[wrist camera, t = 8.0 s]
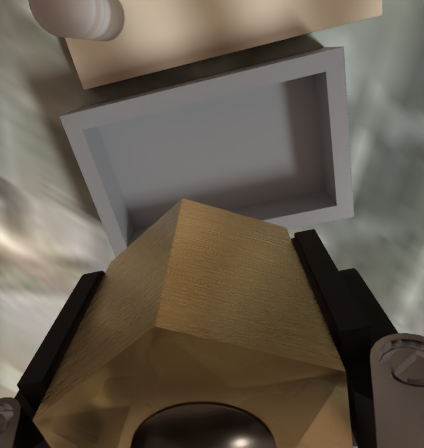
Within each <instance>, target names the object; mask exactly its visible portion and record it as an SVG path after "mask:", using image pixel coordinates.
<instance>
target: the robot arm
mask: <svg viewBox="0 0 424 448" xmlns="http://www.w3.org/2000/svg"><path fill="white" fill-rule="evenodd" d="M294 236H295V238H292V239H291V241H292V243H293V246H294V248H295V250H296V253H297V255H298V258H299V260H300V263H301V265H302V267H303V270H304V272H305V275H306V277H307V279H308V282H309V284H310V287H311V289H312V291H313V294H314V296H315V299H316V301H317V303H318V306H319V308H320V311H321V313H322V315H323V318H324V320H325V323H326V325H327V327H328V330H329V332H330V335H331V337H332V339H333V342H334V344H335V347H336V349H337V351H338V354H339V356H340V359H341V361H342V363H343V366H344V368H345V371H346V378H347V389H348V400H349V411H350V422H351V434H352V445H353V447H354V446H358V448H424V337H423V336H420V335H415V334H408V333H398V332H397V330H396V329H395V327H394V326H393V324H392V323H391V321H390V320H389V318H388V317H387V315H386V314H385V312H384V311H383V309H382V308H381V306H380V305H379V303H378V302H377V300H376V299H375V297H374V295H373V294H372V292H371V291H370V289H369V288H368V286H367V285H366V283H365V282H364V280H363V279H362V277H361V276H360V274H359V273H358V271H357V270H356V269H354V268H352V269H347V270H341V271H338V269H337V268H336V266H335V264H334V262H333V261H332V259H331V257H330V255H329V254H328V252H327V250H326V248H325V247H324V245H323V243H322V241H321V240H320V238H319V236H318V234H317V233H316V231H315V230H314V229H312V230H307V231H302V232H297V233H295V234H294ZM104 275H105V273H104V272H103V271H98V272H93V273H88V274H84V275H82V277H81V278H80V280H79V282H78V283H77V285H76V287H75V288H74V290H73V292H72V293H71V295H70V297H69V298H68V300H67V302H66V303H65V305H64V307H63V308H62V310H61V312H60V313H59V315H58V317H57V319H56V320H55V322H54V324H53V325H52V327H51V329H50V330H49V332H48V334H47V335H46V337H45V339H44V340H43V342H42V344H41V345H40V347H39V349H38V351H37V352H36V354H35V356H34V357H33V359H32V361H31V362H30V364H29V366H28V367H27V369H26V371H25V372H24V374H23V376H22V377H21V379H20V381H19V382H18V384H17V386H18V388H19V391H18V393H17V395H16V396H15V398H12V397H4V398H0V448H51V447H50V446H49V444H48V443H47V441H46V440H45V438H44V437H43V435H42V434H41V432H40V431H39V429H38V428H37V426H36V425H35V423H34V422H33V418H34V416H35V414H36V412H37V410H38V408H39V406H40V404H41V402H42V400H43V398H44V396H45V394H46V392H47V390H48V388H49V386H50V384H51V382H52V380H53V378H54V376H55V374H56V372H57V370H58V368H59V366H60V364H61V362H62V360H63V358H64V355H65V353H66V351H67V349H68V347H69V345H70V343H71V341H72V339H73V337H74V335H75V333H76V331H77V329H78V327H79V325H80V323H81V321H82V319H83V317H84V315H85V313H86V311H87V309H88V307H89V305H90V303H91V301H92V299H93V297H94V295H95V293H96V291H97V289H98V287H99V285H100V283H101V281H102V279H103V277H104Z"/></svg>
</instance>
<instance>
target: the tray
mask: <svg viewBox="0 0 424 448" xmlns="http://www.w3.org/2000/svg"><path fill="white" fill-rule="evenodd" d="M59 117H60V120H61V122H62V125H63V127H64V130H65V132H66V135H67V137H68V140H69V142H70V145H71V147H72V150H73V152H74V155H75V157H76V160H77V162H78V165H79V167H80V170H81V172H82V175H83V177H84V180H85V182H86V184H87V187H88V189H89V192H90V194H91V197H92V199H93V202H94V204H95V207H96V209H97V212H98V214H99V217H100V219H101V222H102V224H103V227H104V229H105V232H106V234H107V237H108V239H109V242H110V244H111V247H112V249H113V252H114V254H115V257H117V256H118V255H119V254H121V253H122V252H123V251H124V250H125V249H126V248H127V247H128V246H129V245H131V244H132V243H133V242H134V241H135V240H136V239H137V238H138V237H140V236H141V235H142V234H143V233H144V232H145V231H146V230H147V229H148V228H150V227H151V226H152V225H153V224H154V223H155V222H156V221H157V220H159V219H160V218H161V217H162V216H163V215H164V214H165V213H166V212H167V211H169V210H170V209H171V208H172V207H173V206H174V205H175V204H176V203H178V202H179V201H180V200H181V199H182V198H185V199H188V200H192V201H195V202H198V203H202V204H205V205H209V206H212V207H216V208H219V209H223V210H226V211H230V212H233V213H237V214H240V215H244V216H247V217H251V218H254V219H258V220H261V221H265V222H268V223H272V224H275V225H279V226H282V227H286V229H287V230H288V229H293V228H298V227H303V226H308V225H313V224H319V223H324V222H329V221H334V220H339V219H344V218H350V217H354V209H353V192H352V176H351V159H350V142H349V126H348V109H347V92H346V76H345V59H344V47H325V48H321V49H317V50H313V51H309V52H305V53H301V54H297V55H293V56H289V57H285V58H281V59H276V60H272V61H268V62H264V63H260V64H256V65H252V66H248V67H244V68H240V69H236V70H232V71H228V72H224V73H220V74H216V75H212V76H208V77H203V78H199V79H195V80H191V81H187V82H183V83H179V84H175V85H171V86H167V87H163V88H159V89H155V90H151V91H147V92H143V93H139V94H135V95H131V96H126V97H122V98H118V99H114V100H110V101H106V102H102V103H98V104H94V105H90V106H86V107H82V108H79V109H76V110H74V111H71V112H69V113H67V114H64V115H62V116H59Z"/></svg>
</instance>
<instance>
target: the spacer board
mask: <svg viewBox="0 0 424 448" xmlns="http://www.w3.org/2000/svg"><path fill="white" fill-rule="evenodd" d="M28 1H29V6H30V9H31V12H32V14H33V16H34V18H35V19H36V21H37V22H38V23H39V25H40V26H41V27H42V28H43V29H45V30H46V31H47V32H49V33H50V34H52V35H55V36H58V37H63V38H65V40H66V42H67V45H68V48H69V51H70V53H71V56H72V59H73V62H74V64H75V67H76V70H77V73H78V75H79V78H80V81H81V84H82V86H83V89H84V90H86V89H90V88H94V87H98V86H102V85H106V84H109V83H113V82H117V81H121V80H125V79H129V78H133V77H137V76H141V75H145V74H149V73H153V72H157V71H161V70H165V69H169V68H173V67H177V66H181V65H185V64H189V63H193V62H197V61H201V60H205V59H209V58H213V57H217V56H221V55H224V54H228V53H232V52H236V51H240V50H244V49H248V48H252V47H256V46H260V45H264V44H268V43H272V42H276V41H280V40H284V39H288V38H292V37H296V36H300V35H304V34H308V33H312V32H316V31H320V30H324V29H328V28H332V27H336V26H339V25H343V24H347V23H351V22H355V21H359V20H363V19H367V18H371V17H375V16H379V15H382V0H28Z"/></svg>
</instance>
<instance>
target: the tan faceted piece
mask: <svg viewBox="0 0 424 448" xmlns="http://www.w3.org/2000/svg"><path fill="white" fill-rule="evenodd" d="M33 422H34V423H35V425H36V426H37V428H38V429H39V431H40V432H41V434H42V435H43V437H44V438H45V440H46V441H47V443H48V444H49V446H50V447H51V448H353V445H352V434H351V422H350V411H349V400H348V389H347V378H346V371H345V368H344V366H343V363H342V361H341V359H340V356H339V354H338V351H337V349H336V347H335V344H334V342H333V339H332V337H331V335H330V332H329V330H328V327H327V325H326V323H325V320H324V318H323V315H322V313H321V311H320V308H319V306H318V303H317V301H316V299H315V296H314V294H313V291H312V289H311V287H310V284H309V282H308V279H307V277H306V275H305V272H304V270H303V267H302V265H301V263H300V260H299V258H298V255H297V253H296V250H295V248H294V246H293V243H292V241H291V238H290V236H289V234H288V231H287V229H286V227H282V226H279V225H275V224H272V223H268V222H265V221H261V220H258V219H254V218H251V217H247V216H244V215H240V214H237V213H233V212H230V211H226V210H223V209H219V208H216V207H212V206H209V205H205V204H202V203H198V202H195V201H192V200H188V199H185V198H182V199H181V200H180V201H179V202H178V203H176V204H175V205H174V206H173V207H172V208H171V209H170V210H169V211H167V212H166V213H165V214H164V215H163V216H162V217H161V218H160V219H159V220H157V221H156V222H155V223H154V224H153V225H152V226H151V227H150V228H148V229H147V230H146V231H145V232H144V233H143V234H142V235H141V236H140V237H138V238H137V239H136V240H135V241H134V242H133V243H132V244H131V245H129V246H128V247H127V248H126V249H125V250H124V251H123V252H122V253H121V254H119V255H118V256H117V257H116V258H115V259H114V260H113V261H112V262H111V263H110V265H109V267H108V269H107V271H106V273H105V275H104V277H103V279H102V281H101V283H100V285H99V287H98V289H97V291H96V293H95V295H94V297H93V299H92V301H91V303H90V305H89V307H88V309H87V311H86V313H85V315H84V317H83V319H82V321H81V323H80V325H79V327H78V329H77V331H76V333H75V335H74V337H73V339H72V341H71V343H70V345H69V347H68V349H67V351H66V353H65V355H64V358H63V360H62V362H61V364H60V366H59V368H58V370H57V372H56V374H55V376H54V378H53V380H52V382H51V384H50V386H49V388H48V390H47V392H46V394H45V396H44V398H43V400H42V402H41V404H40V406H39V408H38V410H37V412H36V414H35V416H34V418H33Z"/></svg>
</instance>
